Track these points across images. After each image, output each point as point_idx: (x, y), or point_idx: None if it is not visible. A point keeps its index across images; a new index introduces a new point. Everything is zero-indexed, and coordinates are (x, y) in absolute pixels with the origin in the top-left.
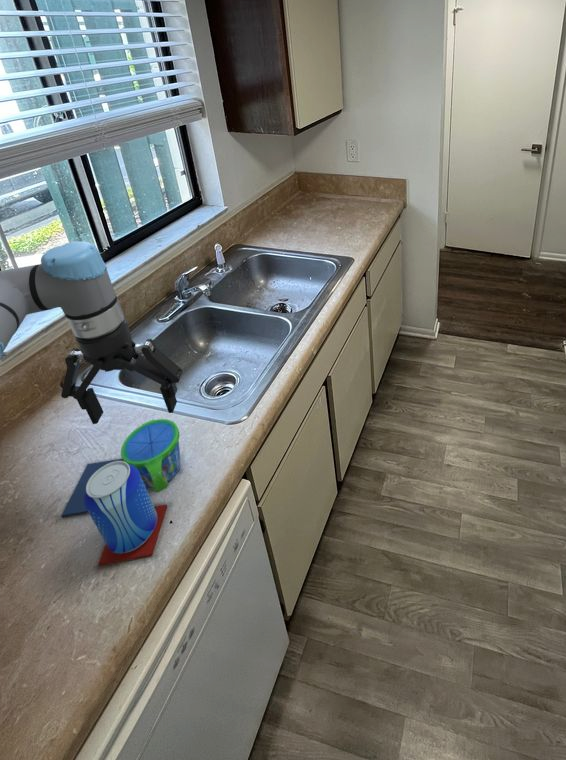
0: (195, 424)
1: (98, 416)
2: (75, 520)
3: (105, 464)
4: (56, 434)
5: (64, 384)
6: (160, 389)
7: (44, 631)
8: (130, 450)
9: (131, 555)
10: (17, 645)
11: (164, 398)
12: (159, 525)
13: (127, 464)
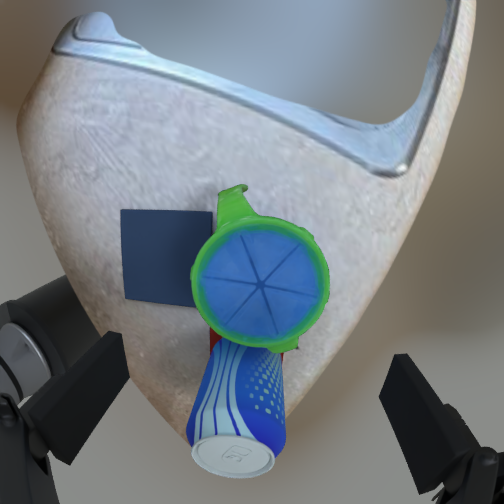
0: (306, 152)
1: (120, 369)
2: (148, 307)
3: (150, 217)
4: (60, 136)
5: None
6: (418, 490)
7: (184, 412)
8: (216, 301)
9: None
10: (165, 413)
11: (405, 450)
12: (282, 354)
13: (264, 447)
